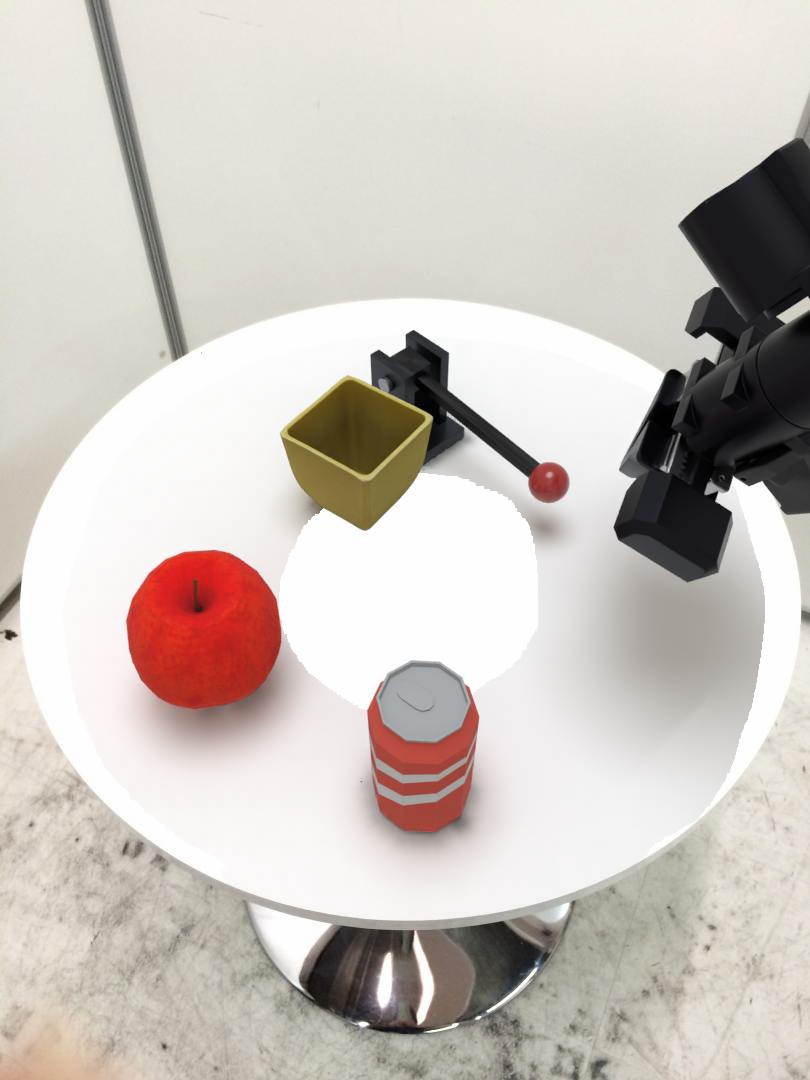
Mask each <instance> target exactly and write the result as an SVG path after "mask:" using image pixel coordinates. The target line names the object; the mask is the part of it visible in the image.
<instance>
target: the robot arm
mask: <svg viewBox="0 0 810 1080" xmlns="http://www.w3.org/2000/svg"><path fill="white" fill-rule="evenodd" d="M677 228H678V230H680V232H681V233H682V235H683V237H684V238H685V239H686V240H687V242H688V243H689V245H690V246H691V248H692V250H694V252H695V254H696V255H697V256H698V258H699V259H700V261H701V262H702V264H703V265H704V267H705V268H706V269H707V271H708V272H709V273H710V275H711V277H712V278H713V280H714V281H715V282H716V284H717V285H718V286H713V287H712V288H710V289H709V290H708V291H707V292H705V293H704V294H703V295H701V296H699V297H698V298H697V299H696V300H694V303H693V305H692V308H691V311H690V313H689V316H688V320H687V322H686V325H685V328H684V330H683V331H685V333H687V334H688V335H689V336H691V337H693V338H694V339H695V340H697V339H699V338H700V337H702V336H704V335H705V334H708V335H709V336H711V337H712V338H714V339H715V340H716V341H718V342H719V343H721V344H722V345H721V348H720V352H719V355H718V358H717V360H716V363H714V362H713V361H711V360H709V359H708V358H707V357H705V356H704V357H702V358H701V359H696V360H694V361H692V363H691V365H690V367H689V370H687V371H685V372H684V373H683V372H681V371H679V370H678V369H676V368H670V369H668V370H667V371H666V372H665V374H664V376H663V378H662V381H661V383H660V385H659V387H658V389H657V391H656V393H655V395H654V396H653V399H652V401H651V403H650V405H649V407H648V410H647V411H646V413H645V414H644V417H643V419H642V421H641V423H640V425H639V427H638V429H637V431H636V433H635V435H634V437H633V439H632V441H631V443H630V445H629V447H628V448H627V450H626V452H625V454H624V456H623V458H622V460H621V462H620V465H619V468H618V471H619V472H620V473H622V474H623V475H625V477H628V478H630V479H634V480H633V482H632V483H631V484H630V486H629V487H628V488H627V489H626V491H625V494H624V497H623V499H622V502H621V504H620V507H619V510H618V513H617V515H616V518H615V521H614V525H613V527H612V528H613V530H614V533H615V536H616V539H617V540H618V541H619V542H620V543H622V544H624V545H625V546H626V547H629V548H630V549H631V550H633V551H635V552H636V553H639V554H640V555H641V556H643V557H645V559H647V560H650V561H651V562H653V563H655V564H657V565H658V566H659V567H661V568H662V569H664V570H666V571H668V572H669V573H671V574H672V575H674V576H676V577H677V578H679V579H681V580H682V581H684V582H685V583H690V582H695V581H697V580H700V579H704V578H707V577H710V576H713V575H717V574H719V572H720V569H721V565H722V562H723V559H724V555H725V552H726V549H727V545H728V543H729V539H730V536H731V532H732V529H733V525H734V519H733V511H731V510H730V509H728V508H726V507H725V506H724V505H722V504H721V503H720V502H717V499H718V496H719V493H721V494H725V493H728V492H729V491H730V489H731V485H732V483H733V479H734V478H735V479H736V480H738V481H739V482H741V483H742V484H744V485H745V486H747V487H751V486H754V485H756V484H759V483H763V485H764V486H765V487H766V489H767V490H768V491H769V492H770V494H771V495H772V496H773V497H774V498H775V500H776V501H777V503H778V504H779V505H780V507H779V509H780V510H781V511H782V512H783V513H784V515H787V516H792V515H793V516H794V515H795V516H796V515H804V514H805V515H806V514H810V309H808V310H807V311H805V312H803V313H802V314H800V315H798V316H797V317H795V318H793V319H792V320H789V322H787V323H786V322H784V321H783V320H781V319H780V318H779V317H778V316H779V315H781V314H783V313H785V312H786V311H787V310H789V309H791V308H792V307H794V306H795V305H798V304H799V303H800V302H801V301H803V300H805V299H806V298H808V299H809V300H810V147H809V145H808V144H807V142H806V141H805V140H804V138H802V137H795V138H794V139H792V140H790V141H788V142H787V143H785V144H784V145H782V146H780V147H778V148H777V149H776V150H774V151H772V152H771V153H770V154H769V155H768V156H766V158H765V159H763V160H762V161H761V162H760V163H759V164H757V165H756V166H754V167H753V168H751V169H750V170H749V171H747V172H746V173H744V174H743V175H741V177H739V178H737V179H736V180H735V181H733V182H732V183H730V184H729V185H727V186H725V187H724V188H722V189H720V190H719V191H717V192H716V193H713V194H712V195H710V196H709V197H707V198H706V199H704V200H703V201H702V202H701V203H699V204H698V205H697V206H696V207H694V209H693V210H691V211H690V212H689V213H688V214H687V215H686V216H685V217H684V218H683V219H682V220H681V221H680V222H679V223H678V224H677Z"/></svg>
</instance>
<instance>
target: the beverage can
mask: <svg viewBox="0 0 810 1080" xmlns="http://www.w3.org/2000/svg"><path fill="white" fill-rule="evenodd" d="M366 714H367V727H368V737H369V738H368V739H369V751H370V764H371V775H372V776H371V777H372V784H373V789H374V793H375V796H376V801H377V805H378V809H379V812H380V813H381V814H383V815H384V816H385V817H386V818H388V819H389V820H390V821H391V822H392V823H394V824H395V825H396V826H398V827H399V828H400V829H401V830H402V831H408V832H425V833H436V832H437V831H439V830H440V829H442V828H444V827H446V826H447V825H448V824H450V823H452V822H454V821H455V820H457V819H458V818H459V817H461V816H462V813H463V811H464V808H465V805H466V801H467V799H468V797H469V794H470V791H471V788H472V779H473V772H474V765H475V764H474V763H475V756H476V748H477V739H478V730H479V725H480V723H479V722H480V715H479V711H478V709H477V706H476V702H475V699H474V697H473V693H472V691H471V688H470V686H468V685H467V684H466V683H465V681H464V678H463V677H462V675H460V674H458V673H457V672H455V671H454V670H453V669H451V668H450V667H448V666H447V665H445V664H444V663H443V662H441V661H437V660H436V661H432V660H414V659H412V660H409V661H407V662H405V663H404V664H402V665H400V666H398V667H396V668H395V669H393V670H391V671H389V672H387V673H386V675H385V678H384V679H383V680H382V681H381V682H379V684H378V686H377V688H376V691H375V693H374V695H373V697H372V699H371V702H370V703H369V706H368V708H367V709H366Z"/></svg>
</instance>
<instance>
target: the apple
mask: <svg viewBox="0 0 810 1080" xmlns="http://www.w3.org/2000/svg"><path fill="white" fill-rule="evenodd" d="M280 619H281V617H280V611H279V605H278V600H277V597H276V595H275V594H274V592H273V591H272V589H271V587H270V585H269V584H268V583H267V582H266V580H265V579H264V577H262V575H261V574H260V572H259V571H258V570H256V569H255V568H254V567H252V566H251V565H249V564H248V563H247V562H246V561H244V560H242V558H240V557H239V556H236V555H235V554H233V553H231V552H227V551H223V550H218V549H208V550H206V549H205V550H189V551H182V552H180V553H177V554H175V555H172V556H170V557H167V558H165V559H163V561H162V562H160V563H159V564H158V565H156V567H154V568H153V569H152V570H151V571H149V572H148V574H147V575H146V577H145V578H144V579H143V581H142V582H141V584H140V586H139V588H137V590H136V592H135V593H134V595H133V596H132V598H131V601H130V605H129V608H128V611H127V615H126V619H125V624H126V625H125V626H126V633H127V644H128V651H129V655H130V658H131V661H132V664H133V666H134V669H135V671H136V673H137V675H138V677H139V679H140V681H141V683H143V684H144V685H145V686H146V687H147V689H149V690H150V692H151V693H152V694H154V695H155V696H156V697H157V698H158V699H160V700H161V701H164V702H166V703H168V704H170V705H173V706H176V707H179V708H183V709H188V710H189V709H190V710H195V711H197V710H202V709H208V708H209V709H210V708H214V707H221V706H227V705H229V704H232V703H236V702H238V701H240V700H243V699H244V698H246V697H248V696H250V695H252V694H253V693H254V692H256V691H257V690H258V689H259V688H260V687H261V686H262V685H263V684H264V683H265V682H266V681H267V679H268V677H269V676H270V674H271V672H272V670H273V667H274V666H275V664H276V662H277V659H278V656H279V654H280V649H281V646H282V625H281V620H280Z"/></svg>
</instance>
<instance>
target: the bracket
mask: <svg viewBox="0 0 810 1080" xmlns="http://www.w3.org/2000/svg"><path fill="white" fill-rule="evenodd" d="M408 346H410V347H411V348H413V349H414V350H415V351H416V352H418V353H419V354H420V355H421V356H423V357H424V358H425V359H426V360H428V361H429V362H430V363H431V371H430V376H431V377H432V378H434V379H435V380H436V381H437V382H439V383H440V384H441V385H442V386H444V387H445V388H446V389H447V390H449V369H450V368H449V367H450V352H448V350H446V349H444V348H442V347H441V346H439V344H437V343H435V342H433V341H432V340H431V339H429V338H427V337H426V336H425V335H423V334H421V333H420V332H418V331H416V330H415V329H412V330H410V331H409V332H407V333H405V348H406V347H408ZM369 356H370V359H369V360H370V380H371V385H372V386H374V387H376V388H378V389H380V390H382V391H384V392H386V393H388V394H390V395H392V396H395V397H397V398H399V399H401V400H403V401H405V402H407V403H409V404H411V405H413V406H415V407H417V408H419V409H421V410H423V411H425V412H427V413H428V414H430V415H431V416H432V417H433V421H432V426H431V431H430V436H429V441H428V446H427V450H426V455H425V459H424V462H423V465H425V464H427V463H428V462H429V461H431V460H433V459H434V458H436V457H438V456H439V455H440V454H441V453H442V452H444V451H446V450H447V449H449V448H450V447H452V446H453V445H455V444H456V443H458V442H459V441H461V440H462V439H464V437H465V426H463V425H462V424H461V423H458V422H457V421H456V420H454V419H453V418H451V417H450V416H448V412H447V411H446V410H444V409H443V408H442V407H441V406H439V405H438V404H437V403H436V402H435V401H433V400H432V399H431V398H430V397H428V396H427V395H426V394H425V393H424V392H422V391H421V390H418V391H416V392H415V393H414V373H412V372H411V371H410V370H408V369H407V368H405V367H404V366H402V365H401V364H399V363H398V362H396V361H395V360H394V359H392V358H391V356H389V355H388V354H386V353H385V352H384V351H383V350H381V349H377V350H375V351H373V352H372V353H370V355H369Z"/></svg>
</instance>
